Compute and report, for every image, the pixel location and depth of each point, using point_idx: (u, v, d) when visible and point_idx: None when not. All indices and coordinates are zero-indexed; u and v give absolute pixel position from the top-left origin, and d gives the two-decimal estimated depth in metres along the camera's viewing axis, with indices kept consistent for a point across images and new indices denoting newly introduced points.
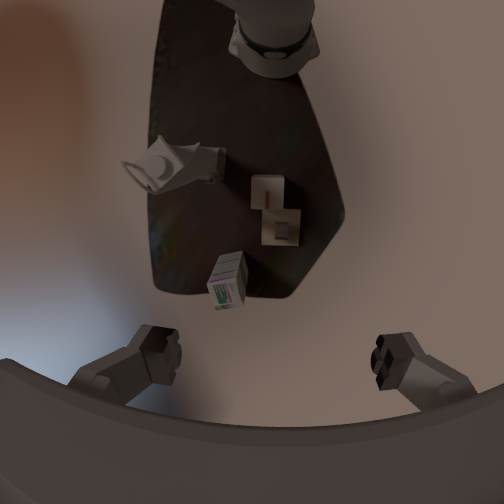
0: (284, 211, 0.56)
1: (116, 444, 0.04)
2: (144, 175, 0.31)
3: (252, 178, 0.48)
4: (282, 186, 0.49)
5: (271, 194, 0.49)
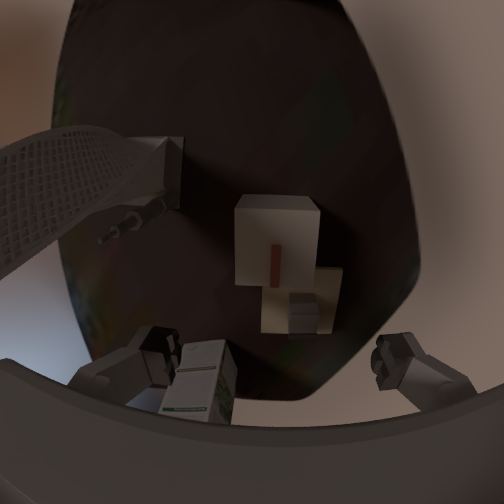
0: None
1: (116, 444, 0.04)
2: None
3: (237, 211, 0.19)
4: (314, 232, 0.19)
5: (286, 252, 0.20)
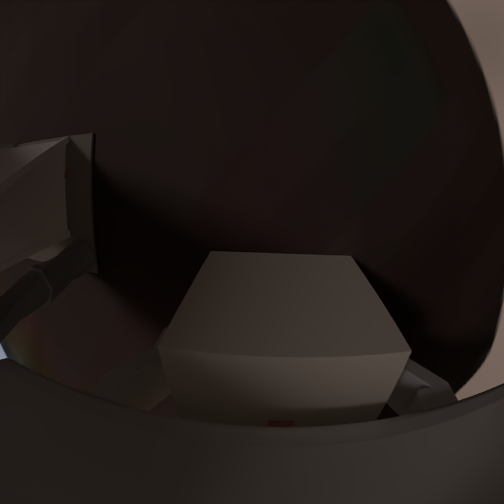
0: None
1: (116, 444, 0.04)
2: None
3: (167, 355, 0.06)
4: (382, 394, 0.06)
5: None
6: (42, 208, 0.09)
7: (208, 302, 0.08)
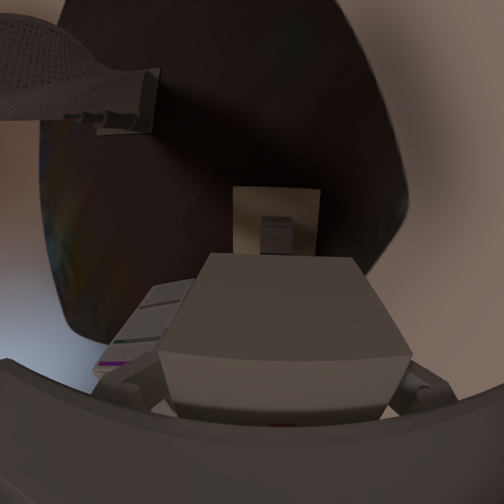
0: (282, 194, 0.24)
1: (116, 444, 0.04)
2: None
3: (167, 359, 0.06)
4: (383, 397, 0.06)
5: None
6: (131, 96, 0.21)
7: (208, 305, 0.08)
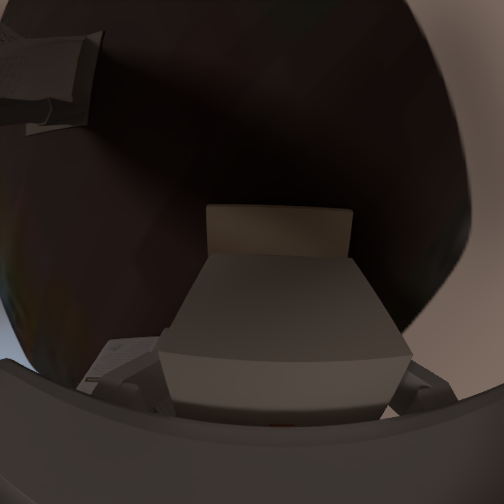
0: (290, 218, 0.14)
1: (116, 444, 0.04)
2: None
3: (167, 360, 0.06)
4: (383, 397, 0.06)
5: None
6: (58, 74, 0.11)
7: (208, 306, 0.08)
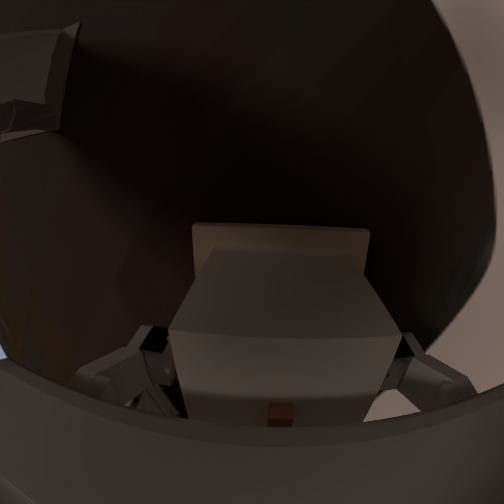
0: (294, 241, 0.12)
1: (116, 444, 0.04)
2: None
3: (176, 338, 0.06)
4: (377, 377, 0.07)
5: (303, 413, 0.07)
6: (28, 72, 0.08)
7: (214, 291, 0.08)
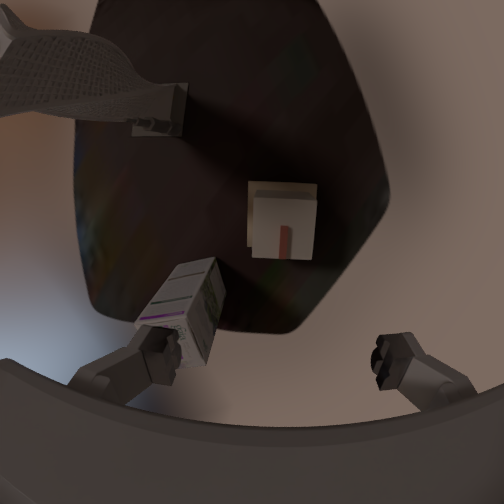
0: (287, 187, 0.31)
1: (116, 444, 0.04)
2: None
3: (255, 200, 0.25)
4: (313, 216, 0.25)
5: (291, 231, 0.26)
6: (165, 105, 0.27)
7: (262, 194, 0.27)
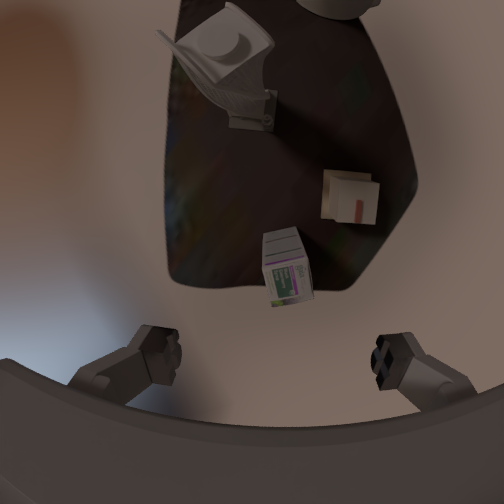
0: (351, 175, 0.40)
1: (116, 444, 0.04)
2: (193, 58, 0.15)
3: (341, 181, 0.35)
4: (376, 194, 0.35)
5: (363, 204, 0.35)
6: (262, 106, 0.36)
7: (341, 178, 0.36)
